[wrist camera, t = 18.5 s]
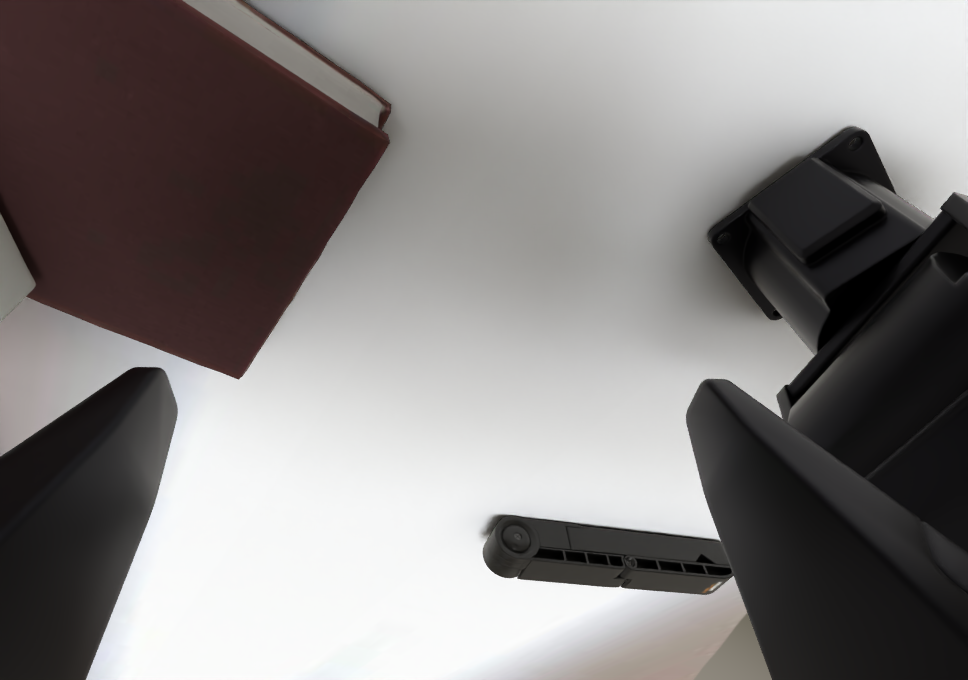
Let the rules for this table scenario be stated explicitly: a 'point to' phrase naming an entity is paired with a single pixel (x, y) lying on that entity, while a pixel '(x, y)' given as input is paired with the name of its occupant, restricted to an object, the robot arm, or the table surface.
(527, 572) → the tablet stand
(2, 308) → the small box
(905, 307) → the robot arm
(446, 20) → the table surface
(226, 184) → the book
